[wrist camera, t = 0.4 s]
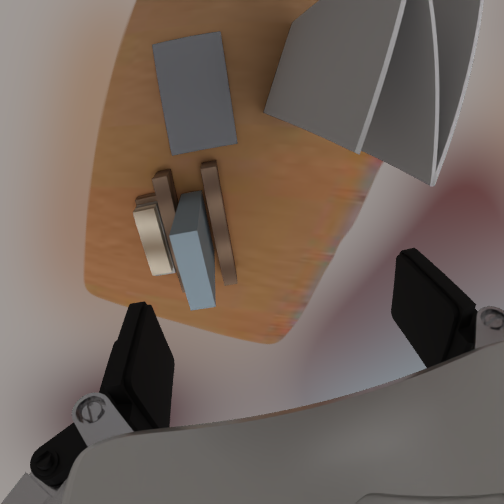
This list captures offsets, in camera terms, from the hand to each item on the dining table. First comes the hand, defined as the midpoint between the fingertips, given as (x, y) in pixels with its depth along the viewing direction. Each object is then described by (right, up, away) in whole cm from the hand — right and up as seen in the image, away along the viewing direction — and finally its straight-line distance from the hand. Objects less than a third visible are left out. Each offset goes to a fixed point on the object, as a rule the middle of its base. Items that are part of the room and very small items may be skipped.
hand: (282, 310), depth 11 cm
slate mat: (-9, +23, +26) cm, 36 cm away
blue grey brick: (-9, +6, +36) cm, 37 cm away
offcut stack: (-15, +5, +35) cm, 39 cm away
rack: (-9, +6, +36) cm, 37 cm away
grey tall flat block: (+5, +27, +27) cm, 38 cm away
